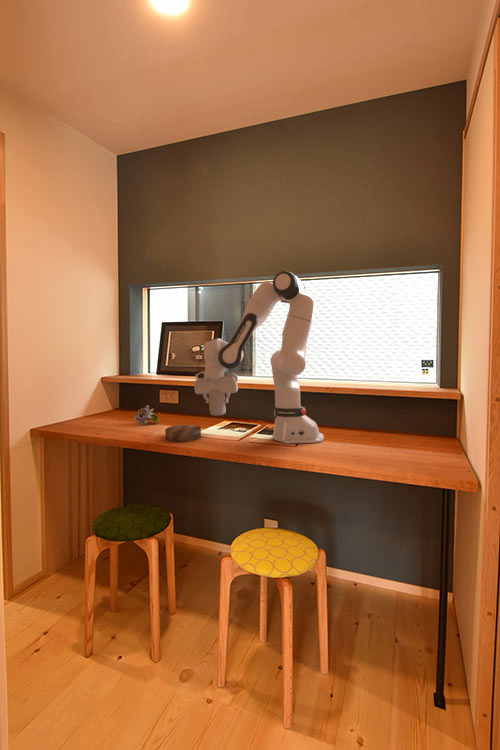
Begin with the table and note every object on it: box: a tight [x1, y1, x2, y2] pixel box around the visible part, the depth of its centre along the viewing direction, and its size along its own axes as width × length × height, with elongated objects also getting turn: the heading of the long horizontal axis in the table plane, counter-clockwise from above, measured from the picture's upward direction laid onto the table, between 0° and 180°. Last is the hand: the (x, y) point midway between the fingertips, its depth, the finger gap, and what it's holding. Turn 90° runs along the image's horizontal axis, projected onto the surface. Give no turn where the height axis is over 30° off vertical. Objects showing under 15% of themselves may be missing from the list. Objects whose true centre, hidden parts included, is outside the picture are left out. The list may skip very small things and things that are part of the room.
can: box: [208, 390, 227, 417], centre depth 189 cm, size 8×8×12 cm
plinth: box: [164, 424, 202, 443], centre depth 185 cm, size 16×16×4 cm
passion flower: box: [133, 404, 161, 426], centre depth 216 cm, size 11×11×12 cm
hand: (217, 402), depth 189 cm, fingers closed on can, 7 cm apart
